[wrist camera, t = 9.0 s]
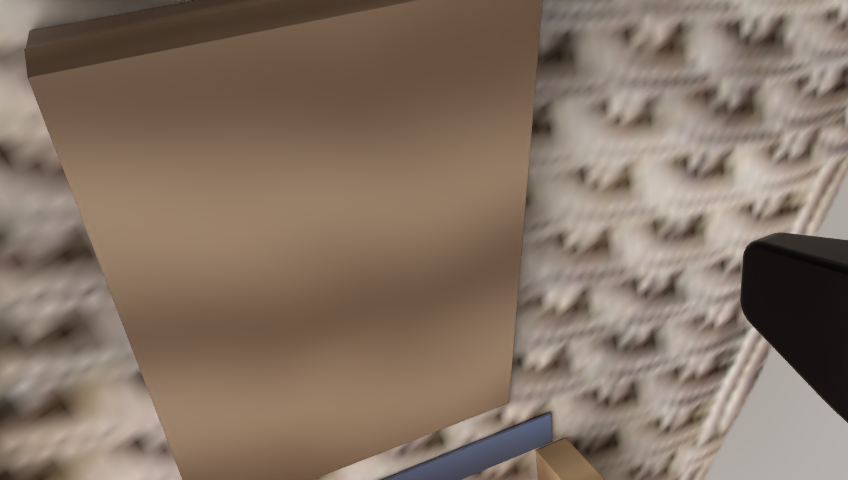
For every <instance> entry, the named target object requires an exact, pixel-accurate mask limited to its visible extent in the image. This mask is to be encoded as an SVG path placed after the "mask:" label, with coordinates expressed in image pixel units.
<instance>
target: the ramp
mask: <svg viewBox="0 0 848 480" xmlns="http://www.w3.org/2000/svg"><path fill="white" fill-rule="evenodd" d="M542 1H543V0H197V1H191V2H185V3H180V4H174V5H169V6H163V7H158V8H152V9H147V10H141V11H136V12H130V13H125V14H119V15H114V16H108V17H103V18H97V19H92V20H86V21H80V22H75V23H69V24H64V25H58V26H53V27H47V28H42V29H36V30H31V31H30V32H29V36H28V41H27V45H26V49H25V58H26V66H27V75H28V79H29V82H30V85H31V87H32V90H33V92H34V95H35V98H36V100H37V103H38V105H39V108H40V111H41V113H42V116H43V118H44V121H45V124H46V126H47V129H48V131H49V134H50V137H51V139H52V142H53V144H54V147H55V149H56V152H57V155H58V157H59V160H60V162H61V165H62V168H63V170H64V173H65V175H66V178H67V181H68V183H69V186H70V188H71V191H72V194H73V196H74V199H75V201H76V204H77V207H78V209H79V212H80V214H81V217H82V220H83V222H84V225H85V227H86V230H87V233H88V235H89V238H90V240H91V243H92V246H93V248H94V251H95V253H96V256H97V259H98V261H99V264H100V266H101V269H102V272H103V274H104V277H105V279H106V282H107V285H108V287H109V290H110V292H111V295H112V298H113V300H114V303H115V305H116V308H117V311H118V313H119V316H120V318H121V321H122V324H123V326H124V329H125V331H126V334H127V337H128V339H129V342H130V344H131V347H132V349H133V352H134V355H135V357H136V360H137V362H138V365H139V368H140V370H141V373H142V375H143V378H144V381H145V383H146V386H147V388H148V391H149V394H150V396H151V399H152V401H153V404H154V407H155V409H156V412H157V414H158V417H159V420H160V422H161V425H162V427H163V430H164V433H165V435H166V438H167V440H168V443H169V446H170V448H171V451H172V453H173V456H174V459H175V461H176V464H177V466H178V469H179V472H180V474H181V477H182V479H183V480H312V479H315V478H318V477H320V476H323V475H325V474H328V473H330V472H333V471H336V470H338V469H341V468H343V467H346V466H348V465H351V464H353V463H356V462H359V461H361V460H364V459H366V458H369V457H371V456H374V455H377V454H379V453H382V452H384V451H387V450H389V449H392V448H394V447H397V446H400V445H402V444H405V443H407V442H410V441H412V440H415V439H418V438H420V437H423V436H425V435H428V434H430V433H433V432H435V431H438V430H441V429H443V428H446V427H448V426H451V425H453V424H456V423H459V422H461V421H464V420H466V419H469V418H471V417H474V416H477V415H479V414H482V413H484V412H487V411H489V410H492V409H494V408H497V407H500V406H502V405H505V404H507V403H509V394H510V382H511V370H512V358H513V346H514V334H515V322H516V310H517V298H518V287H519V275H520V263H521V251H522V239H523V227H524V215H525V203H526V191H527V179H528V168H529V156H530V144H531V132H532V120H533V108H534V96H535V84H536V72H537V61H538V49H539V37H540V25H541V13H542Z"/></svg>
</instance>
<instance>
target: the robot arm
mask: <svg viewBox="0 0 848 480" xmlns="http://www.w3.org/2000/svg"><path fill="white" fill-rule="evenodd" d="M740 302H741V307H742V310H743V313H744V315H745V317H746V318H747V320H748V321H749V322H750V323H751V324H752V325H753V326H754V328H755V329H756V330H757V331H758V332H759V333H760V334H761V335H762V336H763V337H764V338H765V339H766V340H767V341H768V342H769V343H770V344H771V345H772V346H773V347H774V348H775V350H776V351H777V352H778V353H779V354H780V355H781V356H782V357H783V358H784V359H785V360H786V361H787V362H788V363H789V364H790V365H791V366H792V367H793V368H794V369H795V371H796V372H797V373H798V374H799V375H800V376H801V377H802V378H803V379H804V380H805V381H806V382H807V383H808V384H809V385H810V386H811V387H812V388H813V389H814V390H815V391H816V393H818V395H819V396H820V397H821V398H822V399H823V400H824V401H825V402H826V403H827V404H828V405H829V406H830V407H831V408H832V409H833V410H834V411H835V412H836V413H837V414H839V415H840V416H841V417H842V418H843V419H844V420H845V421H846V422H847V423H848V240H841V239H833V238H824V237H815V236H807V235H798V234H790V233H774V234H771V235H768V236H766V237H763V238H761V239H758V240H755V241H753V242H751V243H750V244H749V245H747V247H746V249H745V251H744V255H743V266H742V282H741V297H740Z"/></svg>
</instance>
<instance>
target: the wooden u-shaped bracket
mask: <svg viewBox="0 0 848 480" xmlns="http://www.w3.org/2000/svg"><path fill="white" fill-rule="evenodd" d="M550 442H552V425H551V414H550V413H547V414H545V415H542V416H540V417H537V418H535V419H532V420H530V421H527V422H525V423H522V424H520V425H517V426H515V427H512V428H510V429H507V430H505V431H502V432H500V433H497V434H495V435H492V436H490V437H487V438H485V439H482V440H480V441H477V442H475V443H472V444H470V445H468V446H465V447H463V448H460V449H458V450H455V451H453V452H450V453H448V454H445V455H443V456H440V457H438V458H435V459H433V460H430V461H428V462H425V463H423V464H420V465H418V466H415V467H413V468H410V469H408V470H405V471H403V472H400V473H398V474H395V475H393V476H390V477H388V478H385V479H383V480H461V479H463V478H466V477H468V476H470V475H473V474H475V473H478V472H480V471H483V470H485V469H487V468H490V467H492V466H495V465H497V464H499V463H502V462H504V461H507V460H509V459H511V458H514V457H516V456H519V455H521V454H523V453H526V452H528V451H531V450H533V449H535V448H538V447H540V446H543V445H545V444H547V443H550ZM536 455H537V470H538V480H605V479H604V478H603V477H602V476H601V475H600V474H599V473H598V472H597V471H596V470H595V469H594V468H593V467H592V466H591V464H590V463H589V462H588V461H587V460H586V459H585V458H584V457H583V456H582V455H581V454H580V453H579V452H578V451H577V449H576V448H575V447H574V446H573V445H572V444H571V443H570V442H569V441H568V440H567V439H566V438H565V439H562V440H560V441H557V442H555V443H553V444H550V445H548V446H545V447H543V448H541V449H538V450H536Z"/></svg>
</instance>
